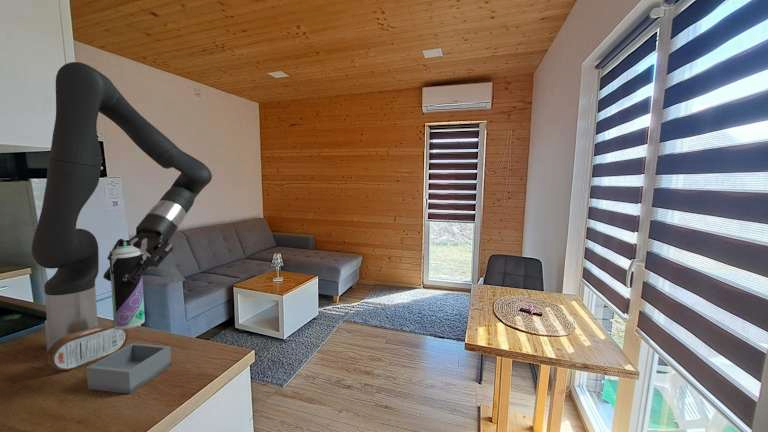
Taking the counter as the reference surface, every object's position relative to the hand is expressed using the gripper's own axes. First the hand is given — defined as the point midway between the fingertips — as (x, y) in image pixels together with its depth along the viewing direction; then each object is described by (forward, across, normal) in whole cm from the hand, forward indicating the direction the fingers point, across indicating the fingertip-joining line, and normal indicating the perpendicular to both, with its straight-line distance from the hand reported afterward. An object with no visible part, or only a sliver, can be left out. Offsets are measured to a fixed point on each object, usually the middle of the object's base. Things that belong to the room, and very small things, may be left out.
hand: (119, 279), depth 66 cm
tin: (+13, -16, +21) cm, 30 cm away
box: (+16, 0, +18) cm, 24 cm away
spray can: (+7, 0, +9) cm, 11 cm away
